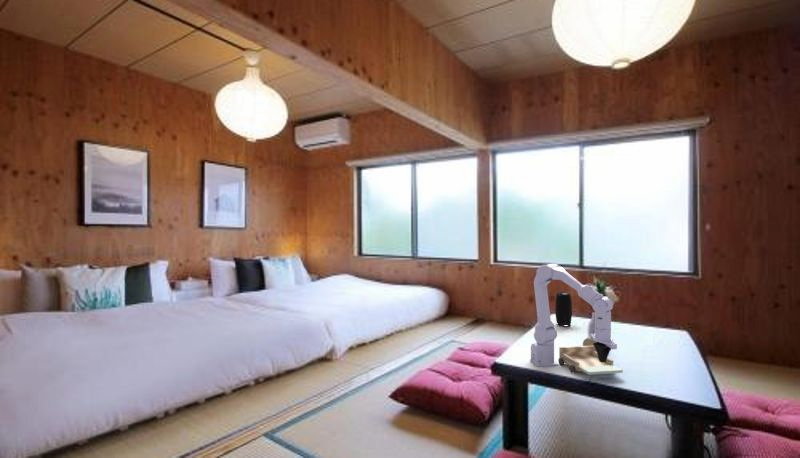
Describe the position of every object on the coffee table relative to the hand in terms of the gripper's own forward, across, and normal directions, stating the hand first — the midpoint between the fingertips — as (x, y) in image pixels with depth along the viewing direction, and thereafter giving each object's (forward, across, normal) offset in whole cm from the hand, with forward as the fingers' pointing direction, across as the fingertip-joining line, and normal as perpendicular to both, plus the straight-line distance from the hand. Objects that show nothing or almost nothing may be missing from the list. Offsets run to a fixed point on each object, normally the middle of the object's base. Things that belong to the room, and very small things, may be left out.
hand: (602, 361), depth 161 cm
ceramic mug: (+7, +31, -17) cm, 36 cm away
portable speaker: (+7, +80, -28) cm, 85 cm away
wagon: (+7, +12, 0) cm, 14 cm away
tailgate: (+4, +4, 0) cm, 5 cm away
